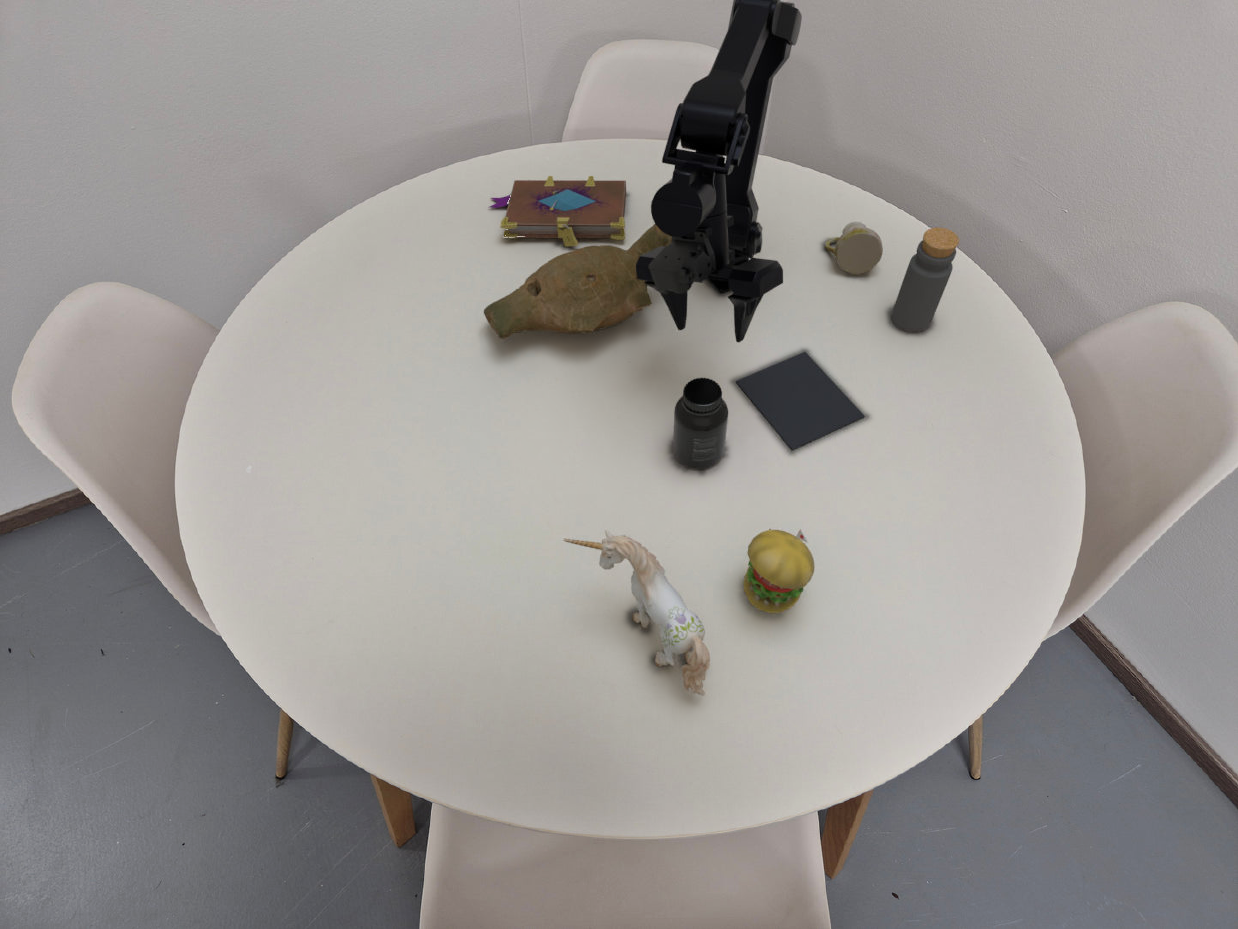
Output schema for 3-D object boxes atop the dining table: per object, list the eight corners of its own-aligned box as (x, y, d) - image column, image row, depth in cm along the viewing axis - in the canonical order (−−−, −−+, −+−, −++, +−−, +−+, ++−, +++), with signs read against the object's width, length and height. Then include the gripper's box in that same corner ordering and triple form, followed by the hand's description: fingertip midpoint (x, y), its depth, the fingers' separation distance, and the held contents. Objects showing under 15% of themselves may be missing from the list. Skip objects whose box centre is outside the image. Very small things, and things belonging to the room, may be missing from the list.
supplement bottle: (731, 440, 104) (739, 380, 94) (713, 478, 100) (719, 420, 90) (684, 424, 106) (687, 364, 96) (664, 461, 102) (666, 403, 92)
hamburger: (726, 585, 91) (736, 533, 81) (770, 552, 93) (785, 498, 84) (772, 633, 87) (788, 585, 78) (817, 597, 90) (837, 546, 80)
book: (493, 195, 139) (488, 170, 135) (628, 196, 138) (628, 170, 134) (478, 249, 129) (472, 223, 125) (624, 250, 127) (624, 224, 124)
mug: (871, 236, 128) (898, 210, 118) (857, 290, 127) (883, 268, 117) (829, 223, 127) (853, 195, 118) (815, 276, 126) (838, 253, 116)
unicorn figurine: (614, 556, 94) (610, 497, 83) (739, 661, 86) (752, 610, 75) (572, 595, 91) (562, 539, 80) (697, 707, 83) (704, 661, 72)
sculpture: (481, 313, 106) (653, 183, 106) (478, 311, 121) (629, 198, 122) (541, 392, 109) (706, 266, 110) (531, 380, 124) (677, 270, 125)
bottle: (927, 306, 117) (960, 225, 105) (933, 333, 114) (967, 252, 102) (888, 305, 118) (916, 223, 106) (893, 332, 115) (922, 250, 102)
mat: (735, 382, 110) (735, 380, 110) (804, 352, 113) (805, 351, 112) (791, 450, 102) (792, 449, 102) (864, 417, 105) (864, 415, 105)
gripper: (599, 224, 92) (615, 345, 100) (729, 238, 80) (735, 373, 88) (657, 201, 98) (668, 316, 106) (785, 210, 87) (785, 338, 95)
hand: (710, 335), depth 99 cm, fingers open, 9 cm apart
